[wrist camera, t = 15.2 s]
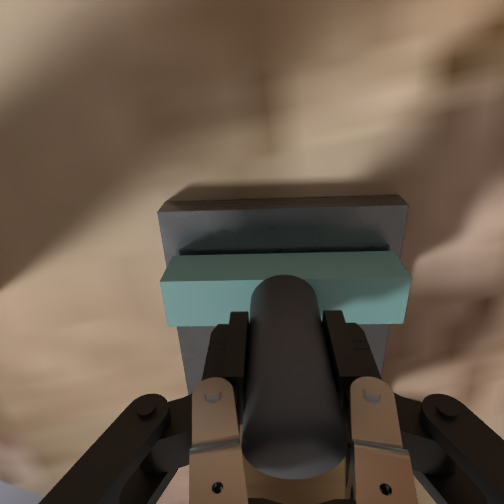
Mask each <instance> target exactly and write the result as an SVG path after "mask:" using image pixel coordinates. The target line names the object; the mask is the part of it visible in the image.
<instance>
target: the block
mask: <svg viewBox="0 0 504 504" xmlns="http://www.w3.org/2000/svg"><path fill="white" fill-rule="evenodd" d="M239 439H240V443H241V439H242V425H240V432H239ZM241 451H242V448H241ZM242 458H243V466H244V474H245V482H246V490H247V498H265V499H269V500H272V501H275V502H279V503H282V504H319V503H322V502H326V501H330V500H333V499H345V461H344V459H343V460H342V461H341V463H340V464H339V465H337V466H336V467H335V468H334V469H332V470H331V471H329V472H327V473H325V474H322V475H319V476H316V477H312V478H307V479H282V478H277V477H273V476H270V475H267V474H265V473H262V472H260V471H259V470H257V469H256V468H254V467H253V466H252V465H251V464H249V462H248V461H247V460H246V459H245V457H244V455H243V453H242Z"/></svg>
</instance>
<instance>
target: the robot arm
mask: <svg viewBox="0 0 504 504" xmlns="http://www.w3.org/2000/svg"><path fill="white" fill-rule="evenodd" d="M322 325H323V329H324V334H325V338H326V343H327V348H328V352H329V357H330V361H331V366H332V371H333V375H334V380H335V384H336V389H337V394H338V398H339V403H340V407H341V412H342V417H343V421H344V426H345V430H346V435H347V440H348V450H347V453H346V456H345V457H344V461H345V499H333V500H330V501H326V502H322V503H319V504H418V499H417V494H416V488H415V482H414V477H413V474H414V476H415V477H416V478H417V480H418V481H419V482H420V483H421V485H422V486H423V487H424V488H425V490H426V491H427V492H428V493H429V495H430V496H431V497H432V498H433V500H434V501H435V502H436V503H437V504H504V440H503V439H502V438H501V437H500V436H498V435H497V434H496V433H495V432H494V431H493V430H492V429H491V428H489V427H488V426H487V425H486V424H485V423H484V422H483V421H482V420H480V419H479V418H478V417H477V416H476V415H475V414H474V413H473V412H471V411H470V410H469V409H468V408H467V407H466V406H465V405H464V404H462V403H461V402H460V401H458V400H457V399H455V398H453V397H450V396H448V395H444V394H431V395H429V396H427V397H426V398H424V400H423V402H420V401H416V400H412V399H408V398H405V397H402V396H399V395H397V394H396V393H394V392H393V390H392V389H391V387H390V386H389V385H388V384H387V383H385V382H384V381H383V380H382V378H381V376H380V373H379V370H378V367H377V365H376V362H375V359H374V357H373V354H372V351H371V349H370V346H369V343H368V340H367V338H366V335H365V332H364V330H363V329H362V328H361V327H360V326H359V325H358V324H357V323H346V322H345V318H344V315H343V312H342V310H323V314H322ZM248 335H249V313H248V311H231V312H230V319H229V324H218V325H217V326H216V327H215V328H214V330H213V331H212V332H211V336H210V341H209V346H208V352H207V355H206V360H205V365H204V370H203V375H202V380H201V382H200V383H199V384H197V385H196V387H195V388H194V390H193V393H191V394H190V395H188V396H186V397H183V398H181V399H177V400H173V401H170V402H167V400H166V399H165V398H164V397H163V396H161V395H158V394H146V395H143V396H141V397H139V398H137V399H135V400H134V401H133V402H132V403H131V404H130V405H129V406H128V407H127V408H126V409H125V410H124V411H123V412H122V413H121V414H120V415H119V417H118V418H117V419H116V420H115V421H114V422H113V423H112V424H111V425H110V426H109V427H108V429H107V430H106V431H105V432H104V433H103V434H102V435H101V436H100V437H99V438H98V439H97V441H96V442H95V443H94V444H93V445H92V446H91V447H90V448H89V449H88V450H87V451H86V453H85V454H84V455H83V456H82V457H81V458H80V459H79V460H78V461H77V462H76V463H75V464H74V466H73V467H72V468H71V469H70V470H69V471H68V472H67V473H66V474H65V475H64V476H63V478H62V479H61V480H60V481H59V482H58V483H57V484H56V485H55V486H54V487H53V488H52V490H51V491H50V492H49V493H48V494H47V495H46V496H45V497H44V498H43V499H42V501H41V502H40V503H39V504H156V503H157V501H158V500H159V498H160V496H161V495H162V493H163V492H164V490H165V489H166V487H167V486H168V484H169V483H170V481H171V480H172V478H173V477H174V475H175V474H176V472H177V470H178V468H180V467H183V466H186V465H189V504H282V503H279V502H275V501H272V500H269V499H265V498H247V490H246V482H245V474H244V466H243V458H242V451H241V443H240V439H239V432H240V425H242V424H243V409H244V396H245V381H246V366H247V350H248Z"/></svg>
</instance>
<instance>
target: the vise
mask: <svg viewBox="0 0 504 504" xmlns="http://www.w3.org/2000/svg"><path fill="white" fill-rule="evenodd" d="M408 207H409V205H408V204H407V203H406V202H405V201H404V200H403V199H402V198H401V197H400V196H399V195H381V196H347V197H313V198H279V199H245V200H211V201H177V202H164V204H163V205H162V206H161V208H160V209H159V210H158V212H157V213H158V219H159V225H160V231H161V237H162V243H163V248H164V254H165V260H166V266H168V264H169V262H170V260H171V258H172V256H182V255H227V254H273V253H319V252H364V251H394V252H395V254H396V255H397V257H398V258H399V259H400V257H401V251H402V245H403V238H404V232H405V226H406V220H407V214H408ZM358 325H359V326H360V327H361V328H362V329H363V330H364V332H365V335H366V338H367V340H368V343H369V346H370V349H371V351H372V354H373V357H374V359H375V362H376V365H377V367H378V370H379V373H380V376H381V374H382V368H383V362H384V356H385V349H386V343H387V337H388V331H389V325H390V324H358ZM215 327H216V326H177V330H178V336H179V342H180V348H181V353H182V359H183V365H184V371H185V377H186V383H187V388H188V394H189V395H190V394H191V393H193V390H194V388H195V387H196V385H197V384H199V383H200V382H201V380H202V375H203V370H204V365H205V360H206V355H207V352H208V346H209V341H210V336H211V332H212V331H213V330H214V328H215Z"/></svg>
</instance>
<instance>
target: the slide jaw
mask: <svg viewBox="0 0 504 504" xmlns="http://www.w3.org/2000/svg"><path fill="white" fill-rule="evenodd" d="M411 279H412V277H411V275H410V274H409V272H408V271H407V270H406V268H405V267H404V265H403V264H402V262H401V261H400V259H399V258H398V257H397V255H396V254H395V252H394V251H364V252H319V253H273V254H227V255H182V256H172V258H171V260H170V262H169V264H168V266H167V268H166V270H165V272H164V274H163V276H162V278H161V280H160V286H161V291H162V297H163V302H164V308H165V313H166V318H167V324H168V326H217V325H218V324H229V319H230V312H231V311H248V313H249V335H248V350H247V366H246V381H245V396H244V409H243V424H242V439H241V448H242V453H243V455H244V457H245V459H246V460H247V461H248V462H249V464H251V465H252V466H253V467H254V468H256V469H257V470H259V471H260V472H262V473H265V474H267V475H270V476H273V477H277V478H282V479H307V478H312V477H316V476H319V475H322V474H325V473H327V472H329V471H331V470H332V469H334V468H335V467H336V466H337V465H339V464H340V463H341V461H342V460H343V459H344V457H345V456H346V453H347V450H348V440H347V435H346V430H345V426H344V421H343V417H342V412H341V407H340V403H339V398H338V394H337V389H336V384H335V380H334V375H333V371H332V366H331V361H330V357H329V352H328V348H327V343H326V338H325V334H324V329H323V325H322V314H323V310H342V312H343V315H344V318H345V322H346V323H357V324H403V322H404V317H405V311H406V306H407V300H408V295H409V289H410V284H411Z"/></svg>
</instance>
